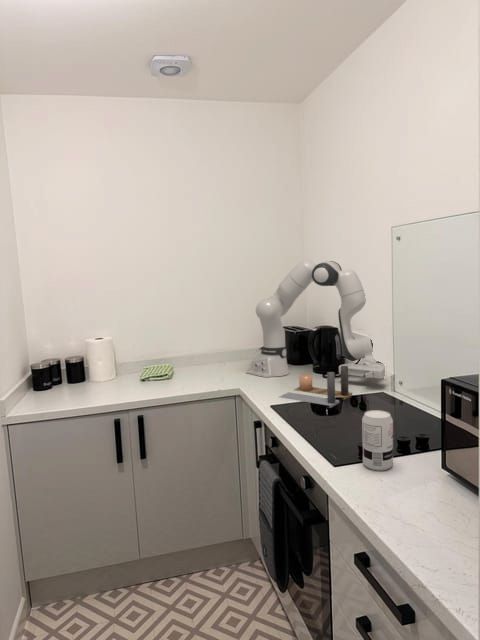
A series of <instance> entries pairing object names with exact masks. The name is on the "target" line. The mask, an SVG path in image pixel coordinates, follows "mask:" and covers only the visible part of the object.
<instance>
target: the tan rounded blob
mask: <svg viewBox="0 0 480 640" xmlns="http://www.w3.org/2000/svg"><path fill="white" fill-rule="evenodd" d="M298 378H299V382H298V383H299V386H298V387H300V390H303V391H309V390H312V387H313V374H311V373H310V374H309V373H302V374H299V376H298Z"/></svg>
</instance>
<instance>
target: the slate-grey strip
mask: <svg viewBox="0 0 480 640" xmlns="http://www.w3.org/2000/svg"><path fill="white" fill-rule="evenodd" d="M326 383H327V384H326V389H327V395H326V397H327V398H326V397H321V396H314V395H308V394H304V393H303V394H301V393H296V392H290V391H288V392H285V393H284V394H282V395H279V396H278V398H281V399H288V400H293V401H294V400H295V401H299V402H306V403H310V404H311V403H312V404H317V405H323V406H327V408H328V409H331V408H333V407H335V406H337V405H338V404H339V403H340V399H336V397H335V390H336V373H335V372H334V371H328V372H326Z"/></svg>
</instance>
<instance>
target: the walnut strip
mask: <svg viewBox="0 0 480 640" xmlns="http://www.w3.org/2000/svg"><path fill="white" fill-rule="evenodd" d="M293 391H297V392H304V393H311V394H316V395H324V396H327V388H323V387H322V388H321V387H315V386H312V390H309V391H303V390H300V386H298V387H297V388H295V389H293ZM352 396H353V392H349V375H348V366H341V374H340V390H336V389H335V398H341V399H340V400H341V401H345V400H346V399H349V398H350V397H352Z"/></svg>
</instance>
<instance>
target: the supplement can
mask: <svg viewBox="0 0 480 640" xmlns="http://www.w3.org/2000/svg"><path fill="white" fill-rule="evenodd" d="M361 421H362V422H361V423H362V424H361V425H362V426H361V427H362V430H361V431H362V432H361V433H362V434H361V437H362V439H361V440H362V441H361V442H362V463H363V465H364V466H365V467H366V468H367V469H370V470H372V471H377V472H379V471H381V472H382V471H388V470H389V469H391V468H392V467H393V465H394V419H393V418H392V415H391V413H390V412H388V411H385V410H378V409H374V410H373V409H371V410H367V411H365V412H364V414H363V416H362V419H361Z"/></svg>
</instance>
